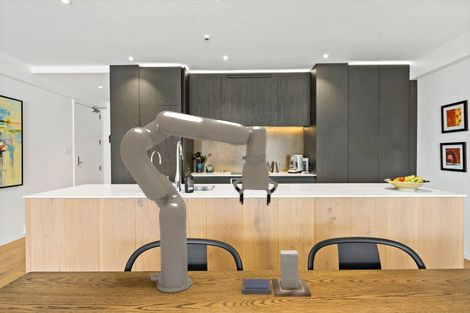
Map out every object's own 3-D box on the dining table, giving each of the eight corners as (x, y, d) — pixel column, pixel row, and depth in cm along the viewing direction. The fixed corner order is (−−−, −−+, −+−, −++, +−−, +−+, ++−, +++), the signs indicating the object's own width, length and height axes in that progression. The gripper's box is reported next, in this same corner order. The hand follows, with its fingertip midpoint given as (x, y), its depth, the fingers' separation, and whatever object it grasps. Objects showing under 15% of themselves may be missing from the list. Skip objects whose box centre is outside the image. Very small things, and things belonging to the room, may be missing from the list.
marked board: (274, 296, 105) (274, 292, 104) (272, 281, 117) (272, 277, 116) (311, 296, 104) (311, 292, 104) (304, 281, 116) (304, 277, 116)
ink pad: (242, 294, 107) (242, 288, 107) (242, 282, 116) (242, 277, 116) (271, 294, 106) (271, 289, 106) (269, 282, 115) (269, 278, 115)
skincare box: (297, 283, 112) (296, 250, 112) (299, 288, 108) (298, 254, 108) (280, 282, 113) (279, 250, 112) (281, 288, 108) (280, 254, 108)
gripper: (232, 159, 115) (231, 205, 115) (279, 160, 114) (278, 207, 114) (233, 158, 122) (233, 202, 123) (278, 159, 121) (277, 203, 121)
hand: (254, 204), depth 118 cm, fingers open, 9 cm apart
